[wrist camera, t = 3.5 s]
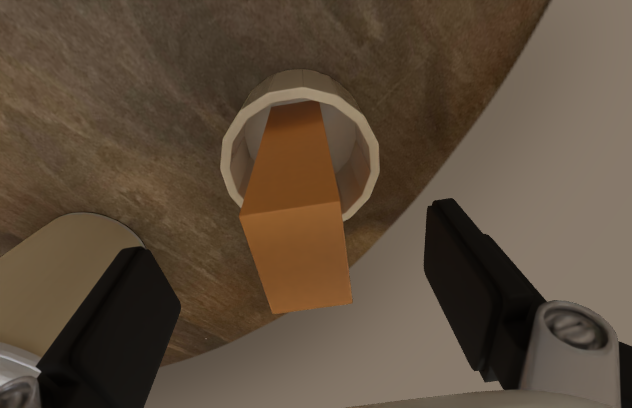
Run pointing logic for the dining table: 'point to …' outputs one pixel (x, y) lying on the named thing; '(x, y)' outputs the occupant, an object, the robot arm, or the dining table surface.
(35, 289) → the coffee cup
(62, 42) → the dining table surface
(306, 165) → the orange rectangular bar
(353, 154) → the cup
